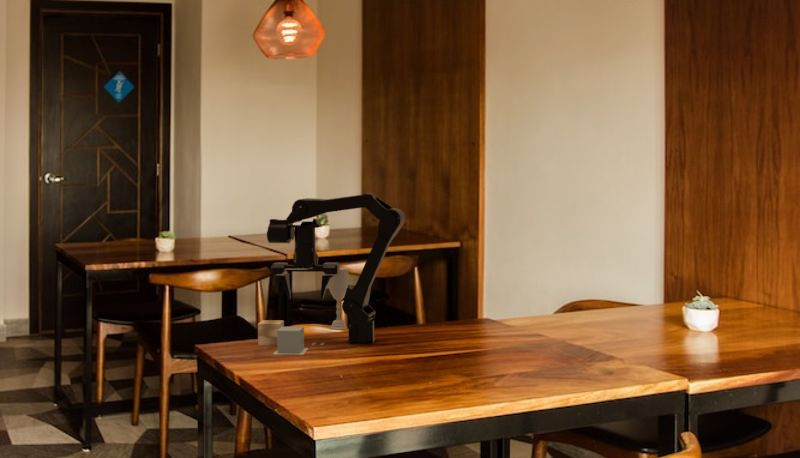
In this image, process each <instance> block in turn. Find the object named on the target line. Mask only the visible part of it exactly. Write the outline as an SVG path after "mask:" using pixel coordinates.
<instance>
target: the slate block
mask: <svg viewBox="0 0 800 458" xmlns="http://www.w3.org/2000/svg"><path fill="white" fill-rule="evenodd" d="M304 348H305V327H304V326H284V327H281V328H280V329H278V330H277V347H276V350H277V351H278V353H301V352H302V351H303V350H304Z"/></svg>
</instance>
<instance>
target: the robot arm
mask: <svg viewBox="0 0 800 458" xmlns="http://www.w3.org/2000/svg"><path fill="white" fill-rule="evenodd" d="M362 208H364V209H366V210H367V211H369V213H371V214H372V215H373V217H375V218H376V219H377V220H378V224H377V230H376V231H377V232H376V237H375V238H376V239H375V240H374V243H373V244H372V248H371V249H370V252H369V254H368V256H367V259H366V260H365V262H364V266H363V268H362V270H361V272H360V275H359V277H358V279H357V281H356V283H355V285H354V284H351V285H350V286H349V285H348V288H347V290H346V293H345V295H344V297H343V298H342V299H340V302H342V305H341V309H342V312H344V314H345V316H347V317H348V320H349V326H348V327H347V333H348V342H349V345H374V343H375V342H376V338H375V320H374V318H375V315H376V310H375V309H373V307H372V306H371V305H370V304H369V302H370V297H371V290H372V289H371V288H372V286H373V283H374V280H375V279H376V276H377V274H378V272H379V270H380V267H381V265H382V263H383V260H384V258H385V256H386V254H387V251H388V249H389V247H390V245H391V242H392V241H393V240H394V239H395V237H396V236H397V234H398V233H399V232H400V230H401V229H402V227H403V226H404V224H405V222H406V215H405V212H403V211H402V210H401V209H399V208H397V207H395V208H394V207H392V206H391V204H388V203H387V202H385V201H383V200H382V199H380V197H378V196H377V195H376V194H375V193H373V192H366V193H363V194H357V195H351V196H342V197H336V198H329V199H326V198H313V197H312V198H311V197H310V198H309V197H308V198H306V197H305V198H300V199H299V198H298V199H296V200H295V201H294V202H293V204H292V206H291V211H290V213H289V214H288V216H287V217H286V218H285V219H278V218H271V219H269V224H268V227H267V230H266V239H267V242H268V243H269V244H290V243H291V242H292V241H293V240H294V251H293V254H292V255H293V257H292V260H293V262H294V264H288V263H289V262H282V261H281V262H274V263H272V264H271V266H270V275H275V278H279V281H280V282H281V284H282V287H283V288H284V292H285V294H286V296H287V298H288V300H291V299H292V298H291V297H292V295H291V293H292V291H291V283H290V273H291V272H292V273H293V272H295V273H296V272H297V273H298V272H299V273H300V272H303V273H304V272H307V273H310V272H313V273H315V272H317V273H318V272H322V273H323V275H322V276H321V288H320V300H324V297H325V294H326V290H327V287H328V282H329V280H330V278H331V277H334V276H335V274H338V273H339V272H340V268H341V265H340V263H339V262H338V261H337V262H327V261H325V263H323V264H319V254H318V253H317V251H316V250H317V249H316V228H318V229H319V228H322V227H323V224H322V223H321V222H320V221H319V220H318V219H317V218H315V217H318V216H322V215H324V214H327V213H331V212H338V211H339V212H341V211H346V210H355V209H356V210H357V209H362ZM312 218H315V219H312ZM309 219H312V220H311V221H305V220H309ZM300 222H301V223H300ZM295 223H300V224H295ZM299 267H301V268H299Z"/></svg>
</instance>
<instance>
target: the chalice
mask: <svg viewBox="0 0 800 458" xmlns="http://www.w3.org/2000/svg"><path fill="white" fill-rule="evenodd" d="M350 269H351V268H349V267H340V272H339V273H338V274H335V276H334V277H331V278H330V280H329V282H328V285H327V287H328V289H329V291H330V294H331V296H332V297H333V299H334V300H335V301H336V305H335V308H336V311H335V313H336V318H335V319H334V320H333V321H332V324H331V326H330V330H346V329H347V330H348V327H347V325H346V323H345V322H346V321H345V320H343V319H342V318H341V314H342V310H341V308H342V305H341V300H342V299H343V298H344V296H345V293H346V290H347V288H348V287H349V271H350Z"/></svg>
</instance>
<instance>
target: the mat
mask: <svg viewBox="0 0 800 458" xmlns="http://www.w3.org/2000/svg"><path fill="white" fill-rule="evenodd" d="M308 350H309V347H308V348H305V347H304V350H303V351H302V352H301V353H278V351H277V349H276V351H275V350H274V352H273V353H272V355H275V356H276V355H282V356H283V355H285V356H286V355H288V356H289V355H291V356H294V355H295V356H296V355H297V356H301V355H305V353H306V352H308Z"/></svg>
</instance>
